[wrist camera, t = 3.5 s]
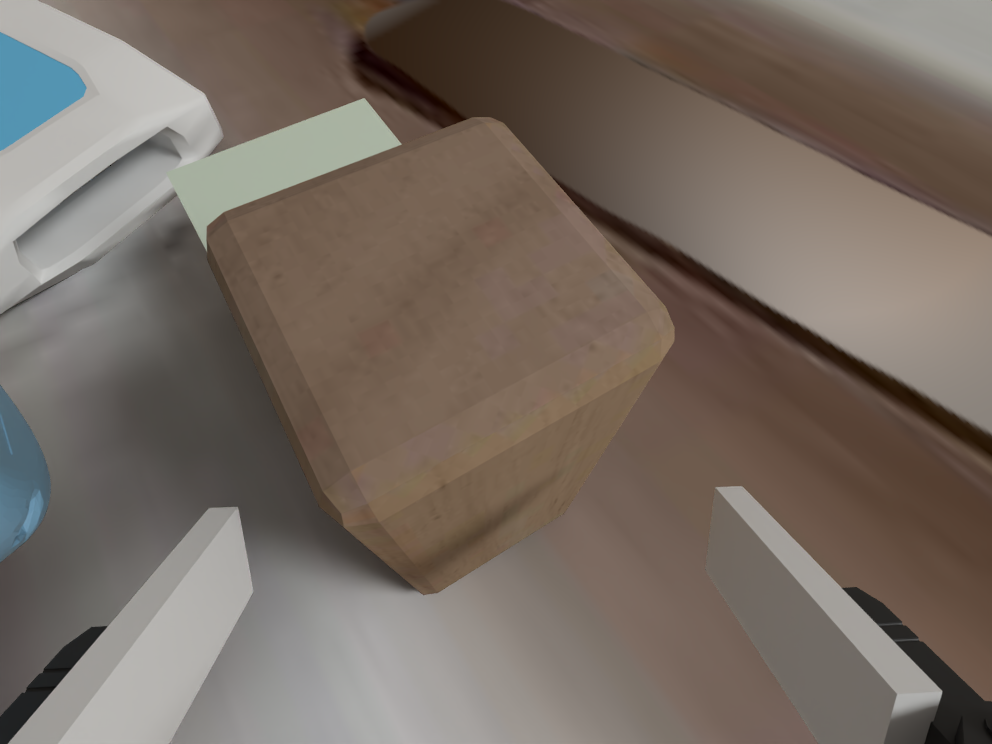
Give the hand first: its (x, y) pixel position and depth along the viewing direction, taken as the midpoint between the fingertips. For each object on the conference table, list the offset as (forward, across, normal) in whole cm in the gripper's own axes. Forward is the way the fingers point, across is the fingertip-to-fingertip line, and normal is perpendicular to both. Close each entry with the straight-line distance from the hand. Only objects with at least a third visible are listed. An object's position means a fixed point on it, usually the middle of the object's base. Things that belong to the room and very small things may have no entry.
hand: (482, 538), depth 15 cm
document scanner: (+35, -36, +13) cm, 52 cm away
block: (+16, -1, -7) cm, 17 cm away
